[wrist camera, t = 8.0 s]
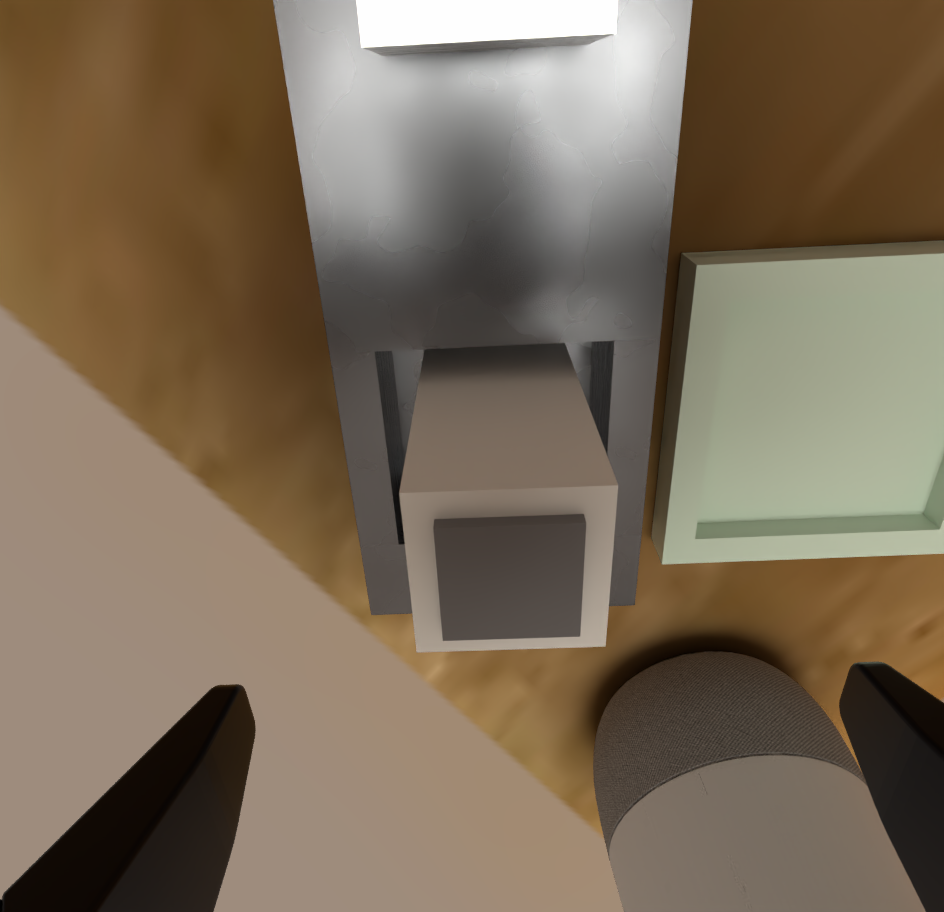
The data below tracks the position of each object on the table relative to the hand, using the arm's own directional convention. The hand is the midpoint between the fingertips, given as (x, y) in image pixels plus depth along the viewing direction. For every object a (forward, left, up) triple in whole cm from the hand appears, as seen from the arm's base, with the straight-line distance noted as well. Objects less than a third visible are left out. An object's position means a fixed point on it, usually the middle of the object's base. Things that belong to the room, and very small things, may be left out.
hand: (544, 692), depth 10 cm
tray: (-10, +1, -12) cm, 16 cm away
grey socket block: (0, -4, -12) cm, 13 cm away
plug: (0, +1, -11) cm, 11 cm away
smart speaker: (-8, +15, -13) cm, 21 cm away
